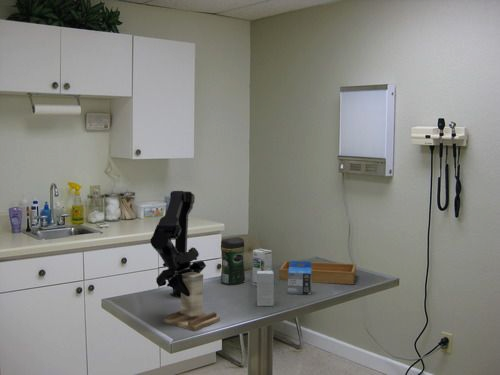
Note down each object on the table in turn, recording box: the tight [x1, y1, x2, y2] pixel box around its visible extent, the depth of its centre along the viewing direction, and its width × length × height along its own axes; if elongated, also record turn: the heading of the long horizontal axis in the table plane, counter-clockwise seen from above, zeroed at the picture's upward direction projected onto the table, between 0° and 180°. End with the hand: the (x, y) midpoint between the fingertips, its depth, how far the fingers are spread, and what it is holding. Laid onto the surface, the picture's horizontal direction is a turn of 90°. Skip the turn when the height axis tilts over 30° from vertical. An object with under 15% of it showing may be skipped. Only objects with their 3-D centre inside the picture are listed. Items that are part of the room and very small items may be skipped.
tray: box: [279, 260, 357, 285], centre depth 247 cm, size 31×15×6 cm, turn 76°
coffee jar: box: [220, 236, 246, 286], centre depth 239 cm, size 10×8×19 cm
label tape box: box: [287, 260, 312, 296], centre depth 224 cm, size 9×4×12 cm, turn 80°
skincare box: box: [256, 270, 275, 307], centre depth 209 cm, size 6×4×12 cm
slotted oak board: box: [163, 310, 221, 332], centre depth 191 cm, size 14×12×2 cm
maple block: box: [180, 272, 204, 316], centre depth 190 cm, size 5×5×13 cm
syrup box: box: [251, 248, 273, 287], centre depth 235 cm, size 6×6×14 cm
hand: (194, 293), depth 189 cm, fingers closed on maple block, 5 cm apart
